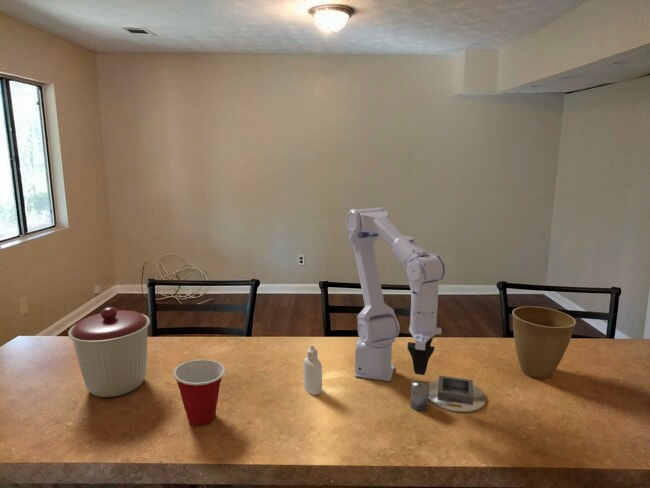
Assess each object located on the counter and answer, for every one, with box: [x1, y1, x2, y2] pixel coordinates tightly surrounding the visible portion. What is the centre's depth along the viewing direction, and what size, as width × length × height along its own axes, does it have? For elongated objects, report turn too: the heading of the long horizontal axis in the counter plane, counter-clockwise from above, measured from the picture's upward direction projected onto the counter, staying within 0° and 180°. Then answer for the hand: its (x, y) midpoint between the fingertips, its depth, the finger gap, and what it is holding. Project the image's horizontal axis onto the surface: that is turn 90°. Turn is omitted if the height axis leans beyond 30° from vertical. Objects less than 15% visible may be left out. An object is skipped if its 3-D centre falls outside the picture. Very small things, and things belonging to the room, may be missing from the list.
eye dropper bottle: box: [303, 344, 323, 396], centre depth 111 cm, size 4×6×12 cm
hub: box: [428, 375, 487, 413], centre depth 109 cm, size 14×14×3 cm
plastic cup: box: [173, 359, 226, 427], centre depth 99 cm, size 11×11×12 cm
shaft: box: [410, 377, 430, 412], centre depth 104 cm, size 4×4×6 cm
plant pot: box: [511, 306, 577, 380], centre depth 119 cm, size 15×15×16 cm
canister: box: [67, 306, 151, 398], centre depth 111 cm, size 18×18×21 cm
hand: (421, 365), depth 102 cm, fingers open, 7 cm apart
